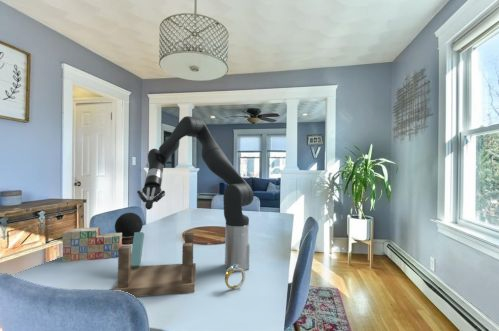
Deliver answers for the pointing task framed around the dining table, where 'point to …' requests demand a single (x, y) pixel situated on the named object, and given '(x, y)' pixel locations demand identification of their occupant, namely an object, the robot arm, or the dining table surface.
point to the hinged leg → (137, 249)
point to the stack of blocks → (89, 244)
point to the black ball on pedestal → (128, 227)
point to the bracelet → (228, 273)
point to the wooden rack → (157, 274)
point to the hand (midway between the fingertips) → (148, 208)
